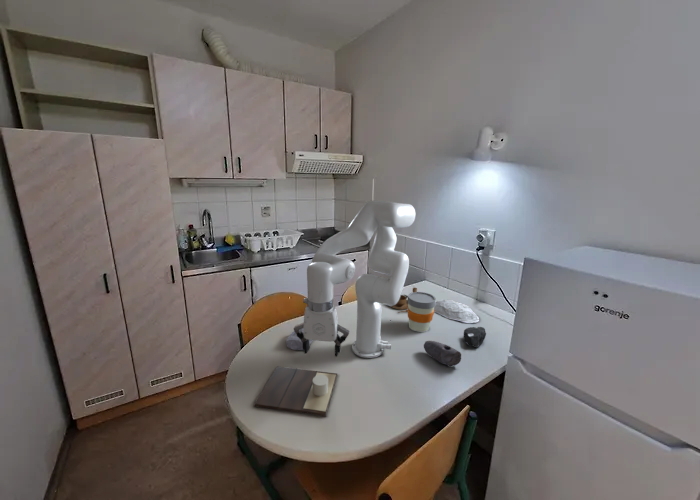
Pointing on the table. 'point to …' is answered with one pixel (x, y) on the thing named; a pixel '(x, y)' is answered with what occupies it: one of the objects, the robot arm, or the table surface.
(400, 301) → the place setting
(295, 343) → the block
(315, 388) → the white short cylinder
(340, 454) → the table surface
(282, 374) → the board
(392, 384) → the table surface
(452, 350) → the perforated stone tool
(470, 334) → the mineral
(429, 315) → the reusable coffee cup
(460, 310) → the white rough oval lump
